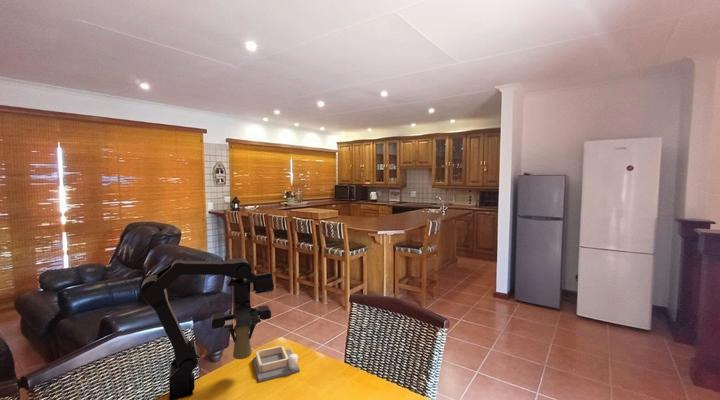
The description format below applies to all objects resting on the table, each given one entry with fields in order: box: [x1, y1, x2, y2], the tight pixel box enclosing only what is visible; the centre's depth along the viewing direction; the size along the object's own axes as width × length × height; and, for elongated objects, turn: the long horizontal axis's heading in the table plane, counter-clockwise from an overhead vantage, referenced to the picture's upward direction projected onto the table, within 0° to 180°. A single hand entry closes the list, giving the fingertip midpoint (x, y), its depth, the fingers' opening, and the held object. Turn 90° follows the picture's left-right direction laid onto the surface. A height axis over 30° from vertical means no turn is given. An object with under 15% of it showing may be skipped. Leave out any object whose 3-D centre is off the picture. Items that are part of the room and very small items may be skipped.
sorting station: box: [252, 345, 301, 383], centre depth 117 cm, size 14×14×5 cm
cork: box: [232, 324, 253, 360], centre depth 110 cm, size 6×6×11 cm
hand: (242, 340), depth 110 cm, fingers closed on cork, 5 cm apart
